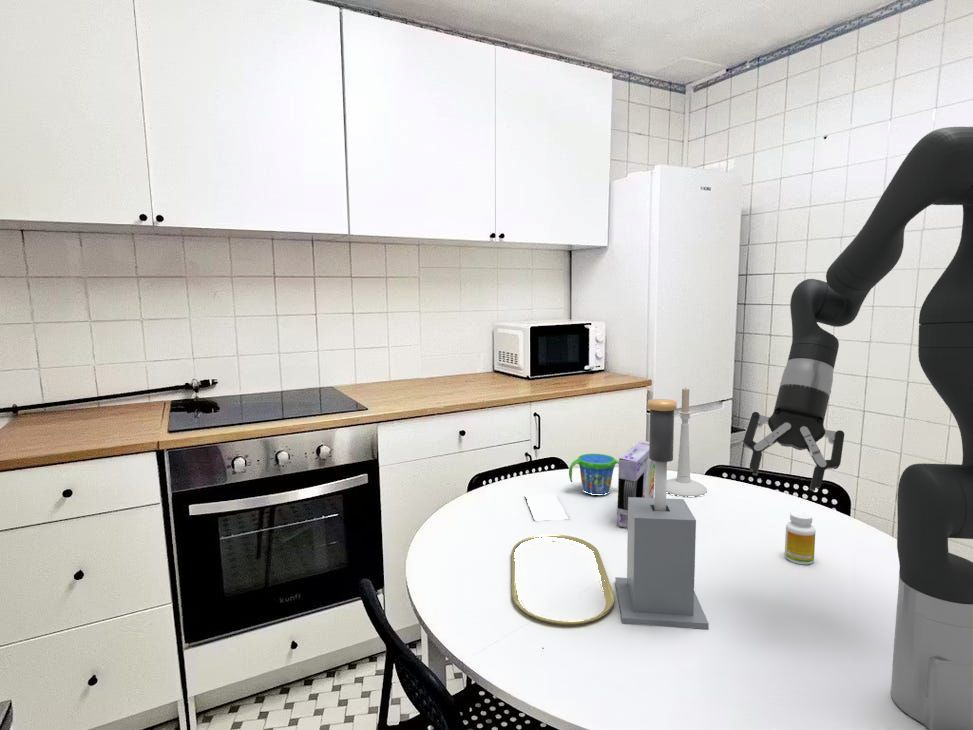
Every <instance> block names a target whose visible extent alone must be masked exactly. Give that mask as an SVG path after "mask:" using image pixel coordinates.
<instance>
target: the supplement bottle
mask: <svg viewBox="0 0 973 730" xmlns="http://www.w3.org/2000/svg"><path fill="white" fill-rule="evenodd" d="M789 515H790V517H789V520H790V521H788V522H787V523H786V526H785V541H784V558H785V559H787V560H788V561H789V562H791V563H794V564H796V565H797V564H798V565H812V564H813V563H814V562H815V549H816V548H815V547H816V528H815V526H814V525H812V524H813V516H812V514H810V513H806V512H803V511H792V512H790V514H789Z"/></svg>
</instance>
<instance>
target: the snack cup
mask: <svg viewBox="0 0 973 730" xmlns="http://www.w3.org/2000/svg"><path fill="white" fill-rule="evenodd" d="M616 464H618V465H619V460H617V459H615V457H613V456H612V455H608V454H605V453H604V454H603V453H585V454H581V455H579V456H578V457H577V459H575V460H573V461H572V462H571V464H570V466H569V470H568V476H569V480H570V482H571V483H573V477H572V476H573V467H574V466H575V465H578V466H579V470H580V471H579V472H580V478H581V485H582V486H581V488H582V491H583V490H584V491H586V492H588V493H592V494H605V493H608V492H609V493H610V491H611V485H612V479H613V475H614V470H615V466H616ZM609 493H608V494H609Z"/></svg>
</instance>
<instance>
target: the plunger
mask: <svg viewBox="0 0 973 730" xmlns="http://www.w3.org/2000/svg"><path fill="white" fill-rule="evenodd" d="M677 406H678V402H677V401H676V400H674V399H666V398H654V399H653V398H651V399H648V400H647V409H649V441H648V442H649V459H651V460H653V461H655V477H654V511H666V498H667V493H666V485H667V480H668V479H667V477H668V476H667V475H668V463H669V462H672V461H673V460H674V441H675V440H674V437H675V436H674V434H675V433H674V432H675V431H674V429H675V411H676V410H677V409H678V407H677Z"/></svg>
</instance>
